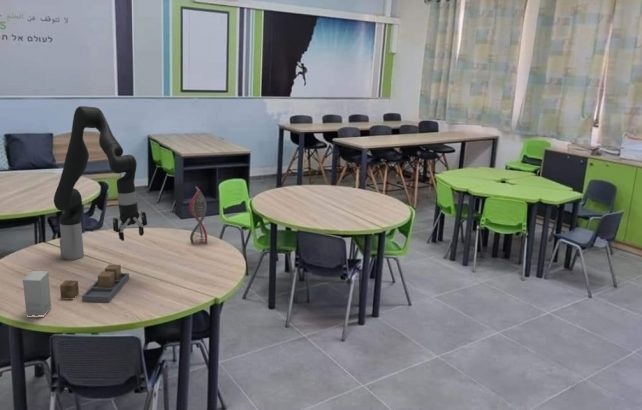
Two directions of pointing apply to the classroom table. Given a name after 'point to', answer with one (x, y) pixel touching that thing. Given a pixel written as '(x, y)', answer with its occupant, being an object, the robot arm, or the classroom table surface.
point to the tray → (104, 291)
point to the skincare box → (37, 293)
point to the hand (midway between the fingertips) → (131, 237)
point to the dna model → (198, 217)
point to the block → (69, 289)
